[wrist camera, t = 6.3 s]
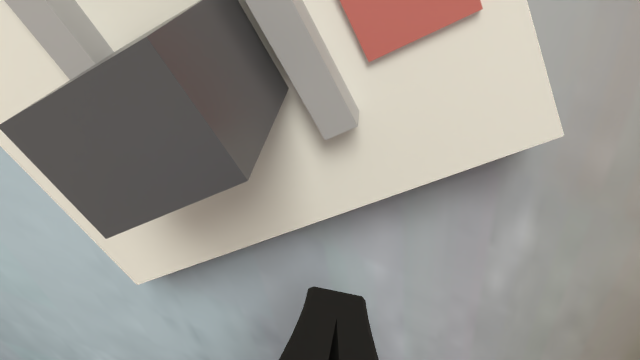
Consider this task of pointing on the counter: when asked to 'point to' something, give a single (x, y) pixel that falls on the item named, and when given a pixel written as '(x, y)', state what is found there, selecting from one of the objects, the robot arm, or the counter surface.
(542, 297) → the counter surface
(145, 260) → the slider switch base
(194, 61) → the handle
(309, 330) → the robot arm
